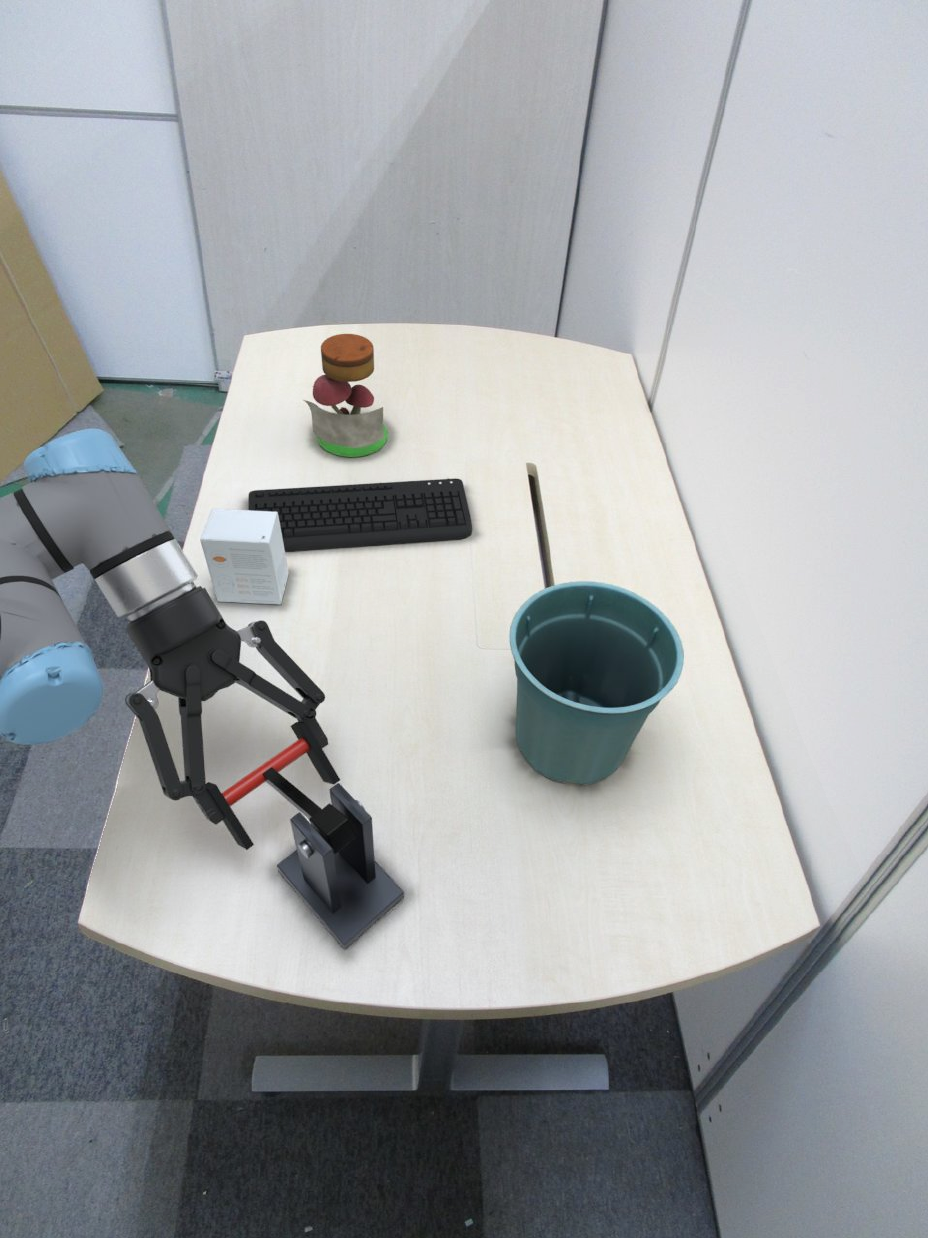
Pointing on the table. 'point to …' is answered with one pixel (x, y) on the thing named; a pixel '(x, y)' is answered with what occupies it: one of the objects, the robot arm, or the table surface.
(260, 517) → the small box
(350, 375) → the multicoloured stacked piece
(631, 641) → the flower pot
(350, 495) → the keyboard
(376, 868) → the bracket
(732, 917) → the table surface
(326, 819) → the lever
